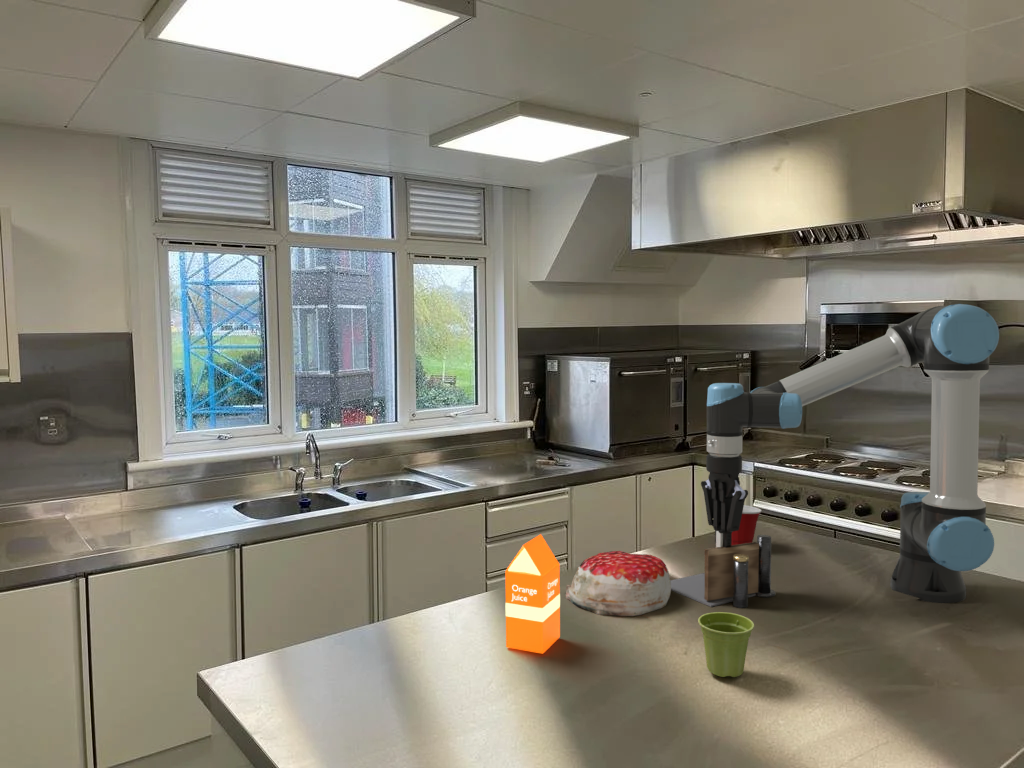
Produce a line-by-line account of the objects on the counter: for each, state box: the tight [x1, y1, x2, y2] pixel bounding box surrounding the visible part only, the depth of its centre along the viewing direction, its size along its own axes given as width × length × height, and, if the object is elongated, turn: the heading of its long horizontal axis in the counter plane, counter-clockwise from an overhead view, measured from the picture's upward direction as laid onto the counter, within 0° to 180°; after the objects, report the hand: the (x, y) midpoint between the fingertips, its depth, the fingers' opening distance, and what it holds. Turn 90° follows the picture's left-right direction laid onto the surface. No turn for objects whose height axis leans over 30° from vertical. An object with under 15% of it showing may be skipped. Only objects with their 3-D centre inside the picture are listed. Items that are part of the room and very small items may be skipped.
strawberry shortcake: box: [565, 550, 672, 617], centre depth 173 cm, size 23×24×10 cm
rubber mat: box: [670, 572, 757, 608], centre depth 177 cm, size 17×17×1 cm
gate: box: [703, 541, 759, 601], centre depth 170 cm, size 14×1×11 cm, turn 112°
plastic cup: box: [732, 504, 763, 545], centre depth 207 cm, size 11×11×12 cm
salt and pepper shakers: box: [732, 534, 776, 609], centre depth 170 cm, size 7×14×13 cm, turn 120°
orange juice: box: [504, 533, 561, 654], centre depth 147 cm, size 8×9×20 cm
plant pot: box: [697, 611, 755, 678], centre depth 134 cm, size 9×9×9 cm
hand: (722, 560), depth 170 cm, fingers closed
